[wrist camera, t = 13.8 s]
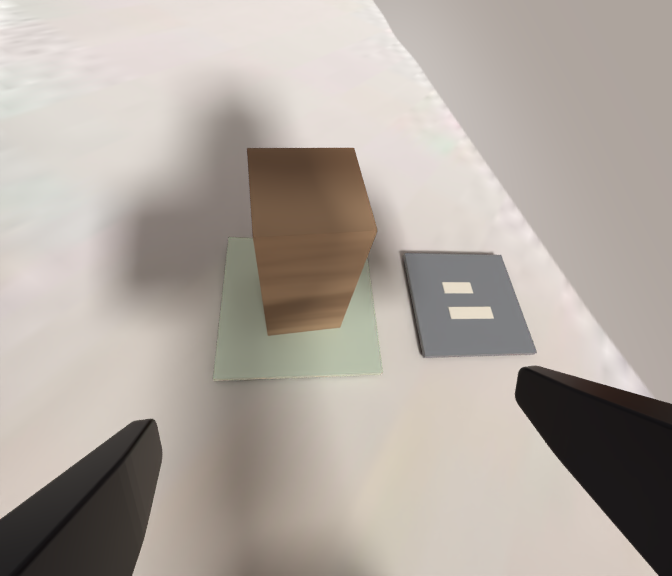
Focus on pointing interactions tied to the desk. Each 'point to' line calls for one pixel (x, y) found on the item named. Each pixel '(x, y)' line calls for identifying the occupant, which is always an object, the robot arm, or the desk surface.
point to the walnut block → (308, 234)
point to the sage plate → (294, 348)
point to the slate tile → (466, 306)
